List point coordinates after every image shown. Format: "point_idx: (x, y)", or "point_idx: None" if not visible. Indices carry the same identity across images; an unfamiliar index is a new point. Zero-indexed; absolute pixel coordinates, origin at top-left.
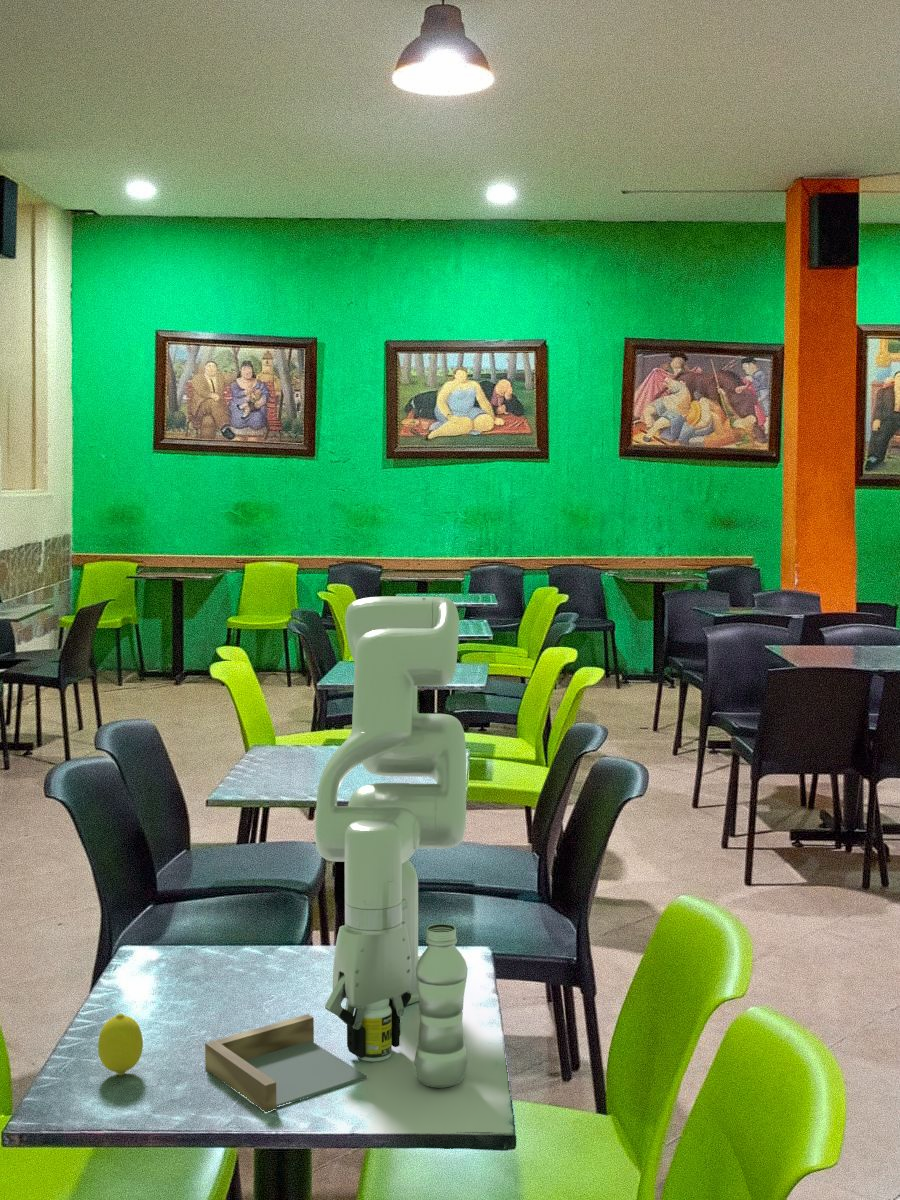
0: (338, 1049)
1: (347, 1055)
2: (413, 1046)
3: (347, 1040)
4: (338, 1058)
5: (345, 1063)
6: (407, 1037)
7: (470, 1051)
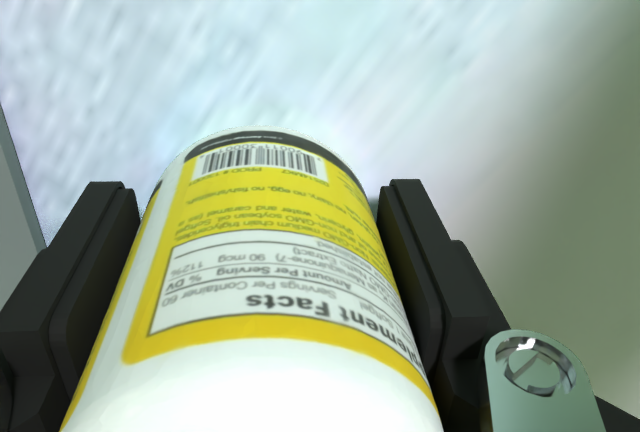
0: (92, 3)
1: (113, 131)
2: (502, 249)
3: (27, 276)
4: (7, 185)
5: (28, 260)
6: (583, 140)
7: (613, 398)
